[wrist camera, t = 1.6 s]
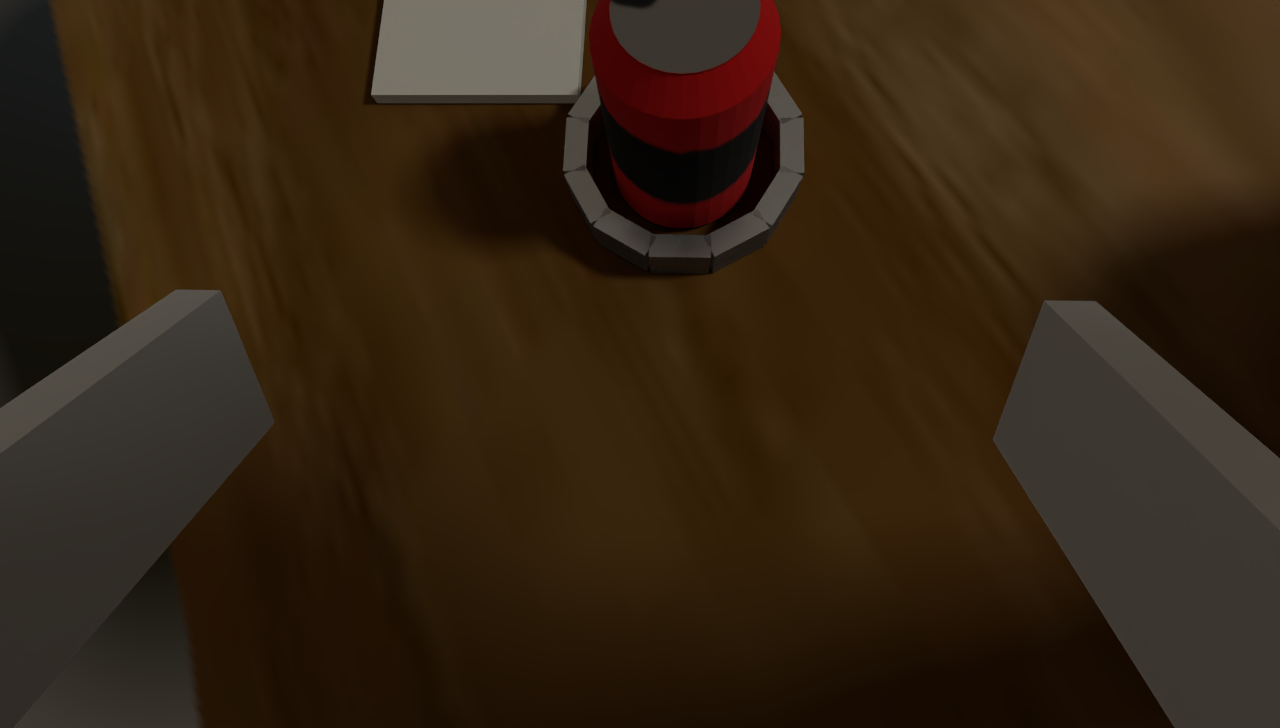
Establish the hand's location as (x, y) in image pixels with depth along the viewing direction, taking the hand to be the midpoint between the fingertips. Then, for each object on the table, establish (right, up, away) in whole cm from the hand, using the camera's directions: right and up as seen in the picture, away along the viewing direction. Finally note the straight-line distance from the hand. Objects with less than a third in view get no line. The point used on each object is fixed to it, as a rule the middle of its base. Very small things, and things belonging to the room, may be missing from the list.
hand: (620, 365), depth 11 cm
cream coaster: (-9, +21, +28) cm, 36 cm away
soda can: (+3, +11, +25) cm, 27 cm away
